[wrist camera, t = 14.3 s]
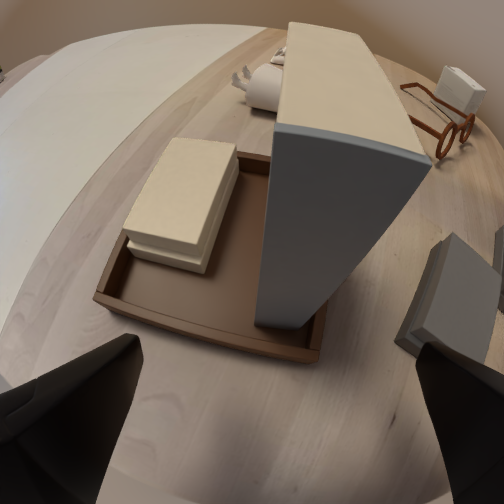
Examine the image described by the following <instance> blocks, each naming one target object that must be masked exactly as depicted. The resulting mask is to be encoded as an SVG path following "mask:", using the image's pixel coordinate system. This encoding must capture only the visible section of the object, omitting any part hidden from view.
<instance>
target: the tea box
mask: <svg viewBox="0 0 504 504" xmlns="http://www.w3.org/2000/svg"><path fill="white" fill-rule="evenodd" d="M4 78H5V76H4V74H3V71H2V69H1V67H0V83H1V82H2V80H3V79H4Z"/></svg>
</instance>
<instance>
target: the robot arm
mask: <svg viewBox="0 0 504 504" xmlns="http://www.w3.org/2000/svg"><path fill="white" fill-rule="evenodd" d="M143 360H144V358H143V352H142V348H141V343H140V339H139V337H138V336H137V335H134V334H128V333H126V334H123V335H121V336H119V337H117V338H115V339H113V340H111V341H109V342H107V343H106V344H104V345H102V346H100V347H98V348H96V349H94V350H92V351H90V352H88V353H86V354H84V355H82V356H80V357H78V358H76V359H74V360H72V361H70V362H68V363H66V364H64V365H62V366H60V367H58V368H56V369H54V370H52V371H50V372H48V373H46V374H44V375H42V376H40V377H38V378H37V379H33V380H31V381H29V382H27V383H25V384H23V385H21V386H19V387H16V388H14V389H12V390H9V391H7V392H4V393H1V394H0V504H95V503H96V500H97V497H98V494H99V490H100V488H101V485H102V482H103V479H104V476H105V473H106V470H107V467H108V464H109V462H110V459H111V456H112V453H113V451H114V448H115V445H116V443H117V440H118V437H119V435H120V432H121V429H122V427H123V424H124V422H125V419H126V417H127V414H128V412H129V409H130V407H131V404H132V401H133V397H134V394H135V390H136V386H137V383H138V379H139V376H140V372H141V369H142V365H143ZM416 370H417V374H418V377H419V381H420V384H421V388H422V392H423V396H424V399H425V403H426V406H427V409H428V412H429V415H430V418H431V421H432V423H433V426H434V429H435V433H436V436H437V439H438V442H439V445H440V449H441V452H442V456H443V459H444V463H445V467H446V470H447V474H448V479H449V483H450V487H451V492H452V496H453V502H454V504H504V375H503V374H501V373H499V372H497V371H495V370H493V369H491V368H489V367H487V366H485V365H483V364H481V363H479V362H477V361H475V360H473V359H471V358H469V357H467V356H465V355H463V354H461V353H459V352H457V351H455V350H453V349H451V348H449V347H447V346H445V345H443V344H441V343H439V342H437V341H427V342H425V343H424V344H423V346H422V348H421V351H420V353H419V355H418V358H417V360H416Z"/></svg>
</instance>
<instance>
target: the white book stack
mask: <svg viewBox="0 0 504 504" xmlns="http://www.w3.org/2000/svg"><path fill="white" fill-rule="evenodd" d="M238 174H239V160H238V159H237V147H236V144H231V143H224V142H216V141H207V140H198V139H187V138H175V137H174V138H173V139H172V140H171V142H170V143H169V145H168V146H167V148H166V150H165V151H164V153H163V154H162V156H161V158H160V159H159V161H158V163H157V164H156V166H155V168H154V169H153V171H152V173H151V174H150V176H149V178H148V180H147V181H146V183H145V185H144V187H143V189H142V190H141V192H140V194H139V196H138V198H137V200H136V201H135V203H134V205H133V207H132V209H131V211H130V213H129V215H128V217H127V219H126V221H125V223H124V225H123V227H122V229H123V230H124V232H125V233H126V234H127V236H128V237H129V239H130V240H129V243H128V245H127V247H128V249H129V250H130V251H131V252H132V254H133V255H134V256H135V257H138V258H141V259H145V260H149V261H153V262H157V263H161V264H165V265H169V266H173V267H177V268H181V269H185V270H189V271H193V272H197V273H201V274H204V273H205V270H206V267H207V264H208V261H209V258H210V255H211V252H212V249H213V246H214V243H215V240H216V237H217V234H218V231H219V228H220V225H221V222H222V219H223V216H224V213H225V211H226V208H227V205H228V202H229V199H230V196H231V194H232V191H233V188H234V185H235V182H236V180H237V177H238Z"/></svg>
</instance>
